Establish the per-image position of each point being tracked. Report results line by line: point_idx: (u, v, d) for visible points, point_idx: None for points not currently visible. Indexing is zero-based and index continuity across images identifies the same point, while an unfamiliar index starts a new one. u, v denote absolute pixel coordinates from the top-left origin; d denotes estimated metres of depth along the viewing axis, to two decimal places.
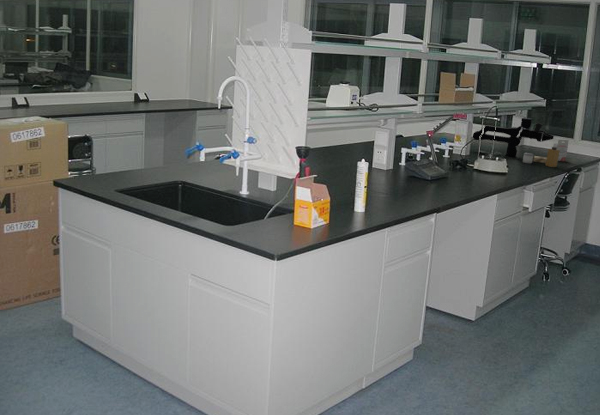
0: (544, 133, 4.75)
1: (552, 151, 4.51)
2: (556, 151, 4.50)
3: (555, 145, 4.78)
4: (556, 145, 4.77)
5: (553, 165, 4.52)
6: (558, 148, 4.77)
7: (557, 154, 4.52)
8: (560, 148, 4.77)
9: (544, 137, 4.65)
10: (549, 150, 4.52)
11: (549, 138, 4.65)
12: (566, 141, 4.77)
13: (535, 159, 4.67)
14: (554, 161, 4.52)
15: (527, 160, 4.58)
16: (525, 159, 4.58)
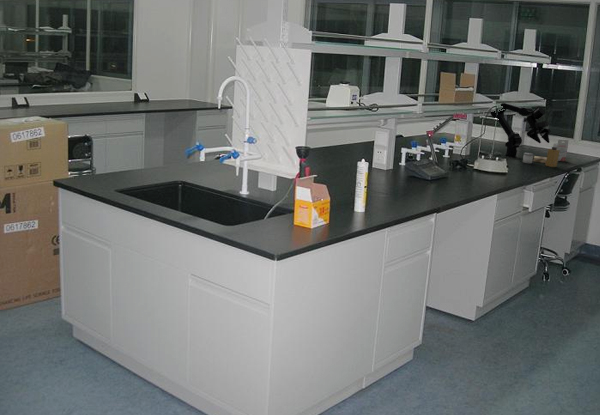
0: (546, 134, 4.63)
1: (552, 151, 4.51)
2: (556, 151, 4.50)
3: (555, 145, 4.78)
4: (556, 145, 4.77)
5: (553, 165, 4.52)
6: (558, 148, 4.77)
7: (557, 154, 4.52)
8: (560, 148, 4.77)
9: (534, 136, 4.57)
10: (549, 150, 4.52)
11: (537, 140, 4.56)
12: (566, 141, 4.77)
13: (535, 159, 4.67)
14: (554, 161, 4.52)
15: (527, 160, 4.58)
16: (525, 159, 4.58)
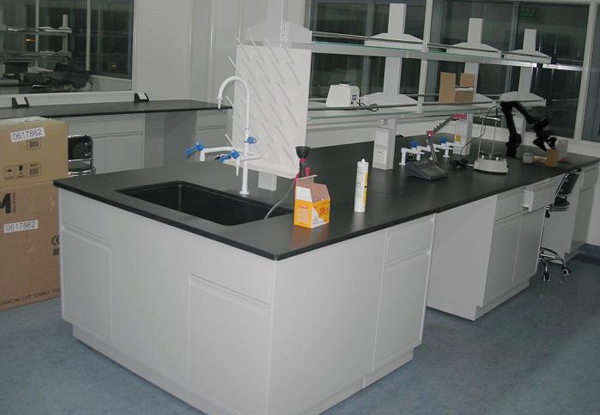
0: (552, 142, 4.59)
1: (552, 151, 4.51)
2: (556, 151, 4.50)
3: (555, 145, 4.78)
4: (556, 145, 4.77)
5: (553, 165, 4.52)
6: (558, 148, 4.77)
7: (557, 154, 4.52)
8: (560, 148, 4.77)
9: (541, 144, 4.53)
10: (549, 150, 4.52)
11: (543, 149, 4.52)
12: (566, 141, 4.77)
13: (535, 159, 4.67)
14: (554, 161, 4.52)
15: (527, 160, 4.58)
16: (525, 159, 4.58)
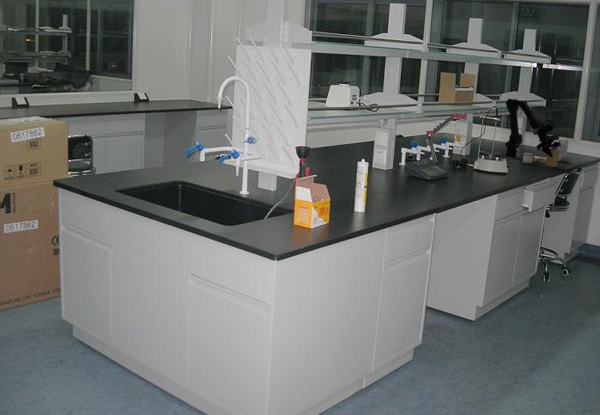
0: None
1: (552, 151, 4.51)
2: (556, 151, 4.50)
3: None
4: None
5: (553, 165, 4.52)
6: (558, 148, 4.77)
7: (557, 154, 4.52)
8: (560, 148, 4.77)
9: (546, 149, 4.52)
10: None
11: (549, 154, 4.52)
12: (566, 141, 4.77)
13: (535, 159, 4.67)
14: (554, 161, 4.52)
15: (527, 160, 4.58)
16: (525, 159, 4.58)
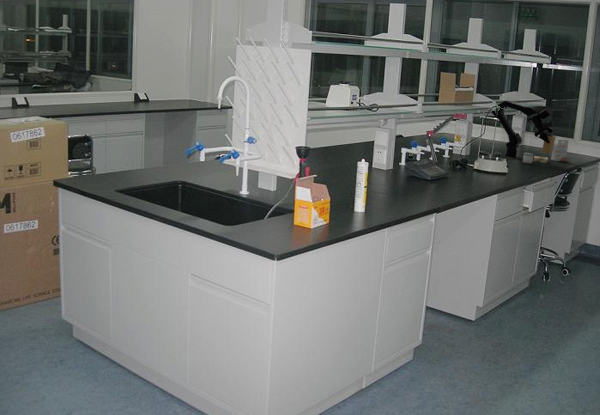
0: None
1: (549, 138, 4.58)
2: (553, 138, 4.58)
3: (555, 145, 4.78)
4: (556, 145, 4.77)
5: (550, 151, 4.61)
6: (558, 148, 4.77)
7: (553, 140, 4.60)
8: (560, 148, 4.77)
9: (543, 136, 4.59)
10: None
11: (546, 140, 4.59)
12: (566, 141, 4.77)
13: (535, 159, 4.67)
14: (551, 147, 4.60)
15: (527, 160, 4.58)
16: (525, 159, 4.58)
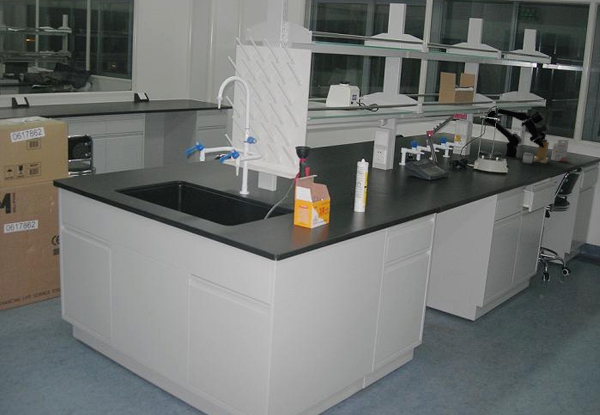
0: (543, 137, 4.71)
1: (544, 143, 4.64)
2: (547, 143, 4.65)
3: (555, 145, 4.78)
4: (556, 145, 4.77)
5: (544, 157, 4.67)
6: (558, 148, 4.77)
7: (547, 146, 4.67)
8: (560, 148, 4.77)
9: (538, 140, 4.64)
10: None
11: (540, 145, 4.64)
12: (566, 141, 4.77)
13: (535, 159, 4.67)
14: (545, 152, 4.66)
15: (527, 160, 4.58)
16: (525, 159, 4.58)
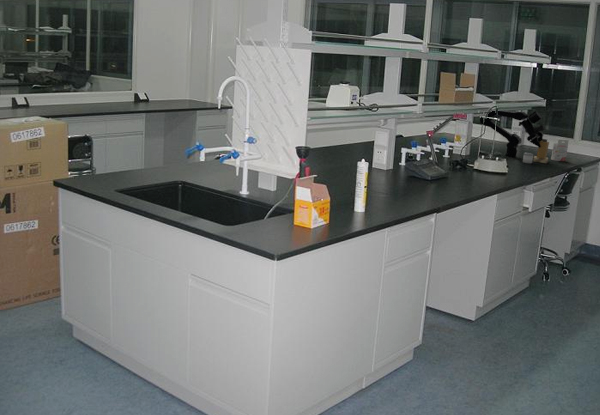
0: (540, 137, 4.73)
1: (544, 143, 4.65)
2: (547, 143, 4.65)
3: (555, 145, 4.78)
4: (556, 145, 4.77)
5: (544, 156, 4.67)
6: (558, 148, 4.77)
7: (547, 146, 4.67)
8: (560, 148, 4.77)
9: (534, 140, 4.64)
10: (541, 142, 4.66)
11: (537, 144, 4.64)
12: (566, 141, 4.77)
13: (535, 159, 4.67)
14: (545, 152, 4.67)
15: (527, 160, 4.58)
16: (525, 159, 4.58)
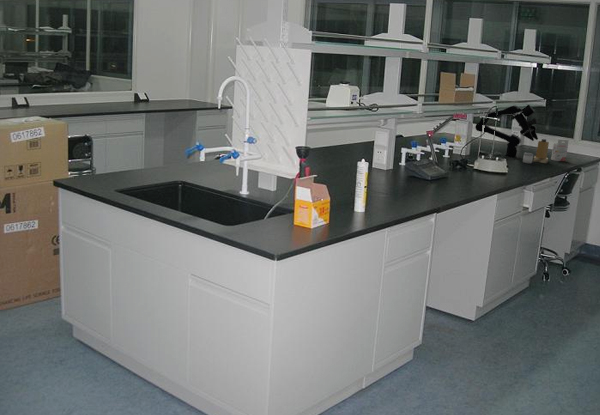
0: (533, 131, 4.75)
1: (542, 143, 4.65)
2: (546, 143, 4.65)
3: (555, 145, 4.78)
4: (556, 145, 4.77)
5: (544, 156, 4.67)
6: (558, 148, 4.77)
7: (547, 146, 4.67)
8: (560, 148, 4.77)
9: (527, 134, 4.67)
10: (539, 142, 4.66)
11: (530, 138, 4.66)
12: (566, 141, 4.77)
13: (535, 159, 4.67)
14: (544, 152, 4.66)
15: (527, 160, 4.58)
16: (525, 159, 4.58)
